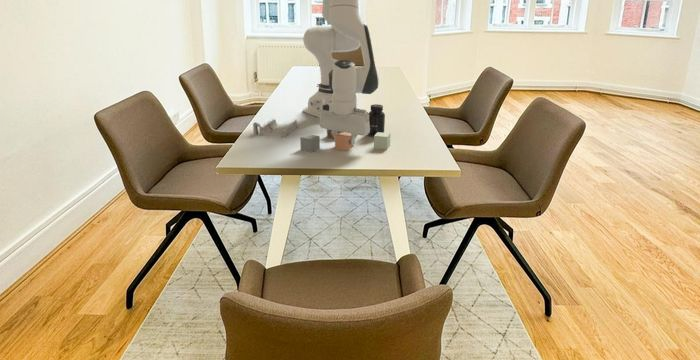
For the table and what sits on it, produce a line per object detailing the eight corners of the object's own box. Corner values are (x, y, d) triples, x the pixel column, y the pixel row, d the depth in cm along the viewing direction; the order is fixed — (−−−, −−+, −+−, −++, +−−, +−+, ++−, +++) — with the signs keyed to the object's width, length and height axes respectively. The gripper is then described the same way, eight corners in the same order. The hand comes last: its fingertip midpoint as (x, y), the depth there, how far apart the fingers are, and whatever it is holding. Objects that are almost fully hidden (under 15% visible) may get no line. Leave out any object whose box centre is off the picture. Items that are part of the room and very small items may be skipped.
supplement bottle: (370, 137, 210) (370, 108, 206) (365, 133, 216) (365, 104, 212) (386, 136, 212) (387, 107, 208) (381, 131, 218) (381, 103, 214)
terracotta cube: (335, 148, 198) (335, 135, 196) (342, 145, 202) (342, 132, 200) (346, 150, 195) (346, 137, 193) (353, 147, 199) (353, 134, 197)
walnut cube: (327, 136, 212) (327, 124, 210) (337, 134, 215) (337, 122, 213) (333, 139, 208) (333, 127, 206) (344, 137, 211) (344, 125, 209)
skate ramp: (284, 138, 211) (284, 125, 209) (253, 135, 214) (253, 123, 212) (297, 128, 225) (297, 116, 223) (268, 126, 228) (267, 114, 226)
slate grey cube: (300, 149, 196) (300, 136, 194) (309, 146, 200) (309, 133, 198) (310, 152, 193) (310, 139, 191) (319, 149, 197) (319, 136, 195)
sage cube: (373, 148, 198) (374, 135, 196) (377, 144, 202) (377, 132, 200) (387, 149, 196) (387, 136, 194) (390, 145, 201) (390, 133, 199)
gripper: (373, 108, 190) (372, 145, 195) (326, 101, 200) (326, 136, 205) (364, 112, 185) (364, 150, 190) (316, 104, 195) (317, 140, 200)
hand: (344, 143), depth 198 cm, fingers closed on terracotta cube, 5 cm apart
